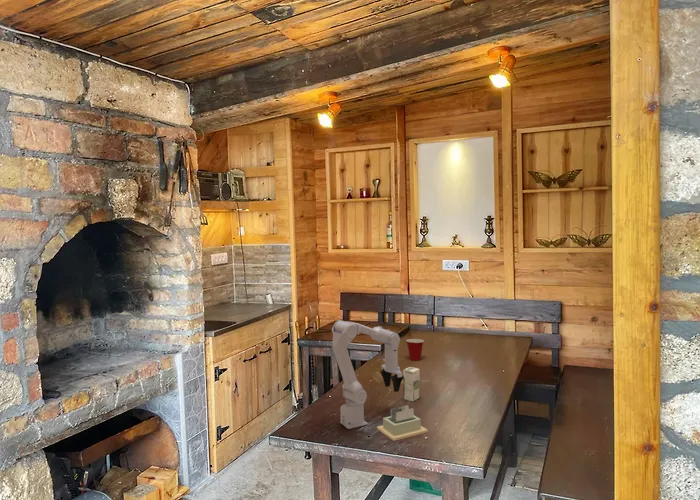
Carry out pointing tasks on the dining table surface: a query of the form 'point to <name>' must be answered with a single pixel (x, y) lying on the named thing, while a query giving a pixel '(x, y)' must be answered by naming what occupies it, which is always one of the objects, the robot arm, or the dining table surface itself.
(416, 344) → the plastic cup
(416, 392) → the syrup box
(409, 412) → the bracket
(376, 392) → the dining table surface
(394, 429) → the well
